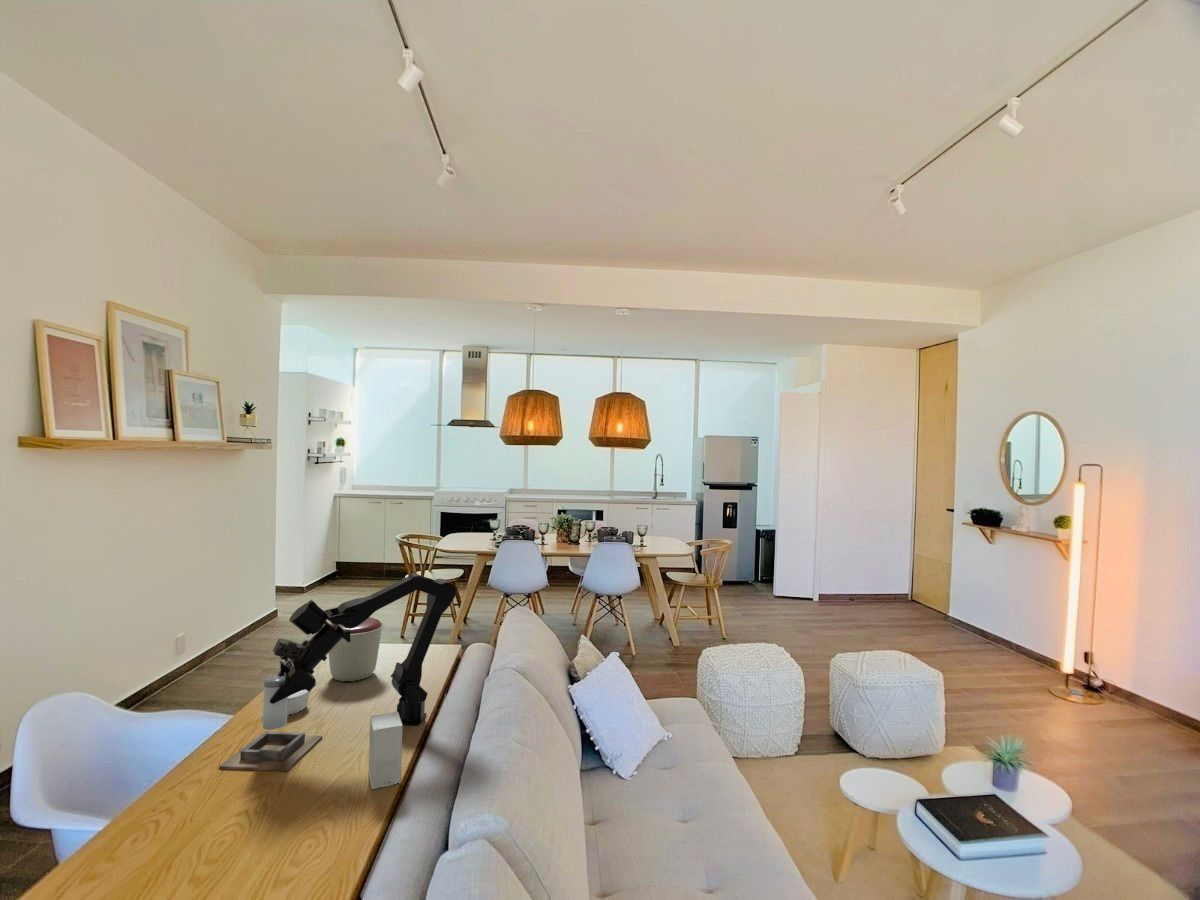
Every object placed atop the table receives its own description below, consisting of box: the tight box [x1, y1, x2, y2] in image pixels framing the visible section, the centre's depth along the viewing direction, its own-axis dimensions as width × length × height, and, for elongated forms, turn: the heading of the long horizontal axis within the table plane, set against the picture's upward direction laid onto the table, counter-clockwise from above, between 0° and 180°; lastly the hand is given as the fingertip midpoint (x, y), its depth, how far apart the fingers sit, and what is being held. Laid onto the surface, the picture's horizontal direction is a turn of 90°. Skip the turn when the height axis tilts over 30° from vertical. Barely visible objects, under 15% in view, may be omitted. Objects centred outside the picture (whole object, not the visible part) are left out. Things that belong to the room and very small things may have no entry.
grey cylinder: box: [262, 675, 288, 731], centre depth 142 cm, size 5×5×11 cm
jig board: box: [218, 731, 323, 772], centre depth 142 cm, size 16×16×3 cm
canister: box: [327, 616, 385, 682], centre depth 192 cm, size 18×18×21 cm
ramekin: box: [287, 689, 312, 716], centre depth 166 cm, size 11×11×5 cm
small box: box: [367, 711, 404, 790], centre depth 133 cm, size 8×6×13 cm
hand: (269, 698), depth 142 cm, fingers closed on grey cylinder, 5 cm apart
